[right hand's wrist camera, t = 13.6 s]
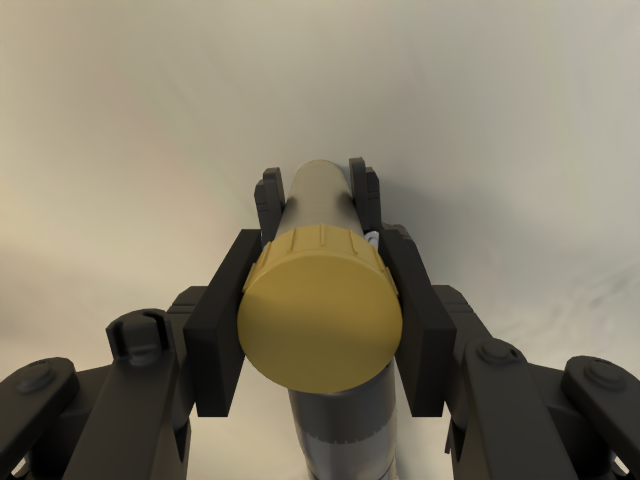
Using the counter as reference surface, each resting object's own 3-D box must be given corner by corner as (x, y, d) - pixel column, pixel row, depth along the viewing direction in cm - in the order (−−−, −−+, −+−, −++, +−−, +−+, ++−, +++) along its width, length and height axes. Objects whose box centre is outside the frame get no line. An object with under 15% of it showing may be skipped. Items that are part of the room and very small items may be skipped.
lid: (302, 193, 11) (297, 218, 9) (418, 273, 12) (440, 314, 10) (224, 301, 12) (203, 346, 10) (334, 364, 14) (337, 417, 11)
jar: (313, 148, 25) (302, 232, 9) (357, 180, 26) (416, 308, 10) (282, 193, 27) (226, 334, 11) (325, 222, 27) (333, 393, 11)
